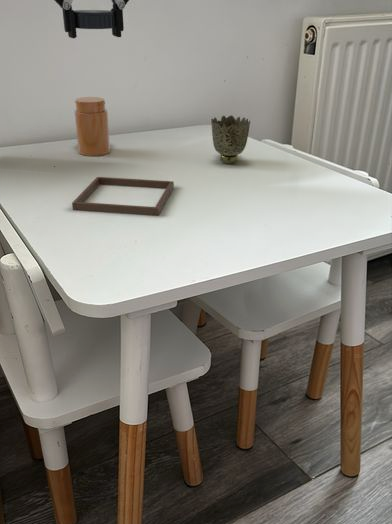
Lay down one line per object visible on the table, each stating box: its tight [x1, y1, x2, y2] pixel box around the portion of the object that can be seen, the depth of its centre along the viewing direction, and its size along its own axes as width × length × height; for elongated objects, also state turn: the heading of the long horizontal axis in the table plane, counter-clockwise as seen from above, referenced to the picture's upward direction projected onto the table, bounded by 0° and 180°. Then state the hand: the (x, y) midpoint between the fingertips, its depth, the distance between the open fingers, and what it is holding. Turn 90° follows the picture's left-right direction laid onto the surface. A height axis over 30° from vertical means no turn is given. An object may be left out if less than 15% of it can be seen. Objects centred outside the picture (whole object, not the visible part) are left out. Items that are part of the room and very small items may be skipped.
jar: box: [74, 96, 111, 157], centre depth 112 cm, size 6×6×10 cm
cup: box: [210, 114, 251, 165], centre depth 108 cm, size 8×7×8 cm
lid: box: [74, 9, 115, 30], centre depth 92 cm, size 7×7×2 cm
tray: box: [71, 176, 175, 217], centre depth 89 cm, size 13×13×2 cm
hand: (94, 36), depth 93 cm, fingers closed on lid, 7 cm apart
